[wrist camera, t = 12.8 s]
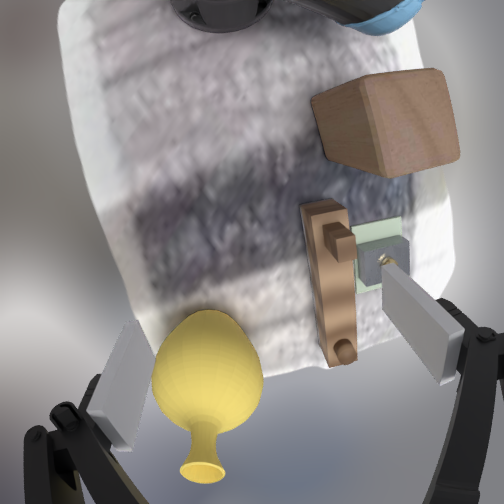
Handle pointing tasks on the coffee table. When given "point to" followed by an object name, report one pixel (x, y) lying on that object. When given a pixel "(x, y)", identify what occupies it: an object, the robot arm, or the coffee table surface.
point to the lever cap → (381, 258)
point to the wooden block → (389, 122)
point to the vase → (207, 385)
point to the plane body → (332, 278)
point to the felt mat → (372, 233)
